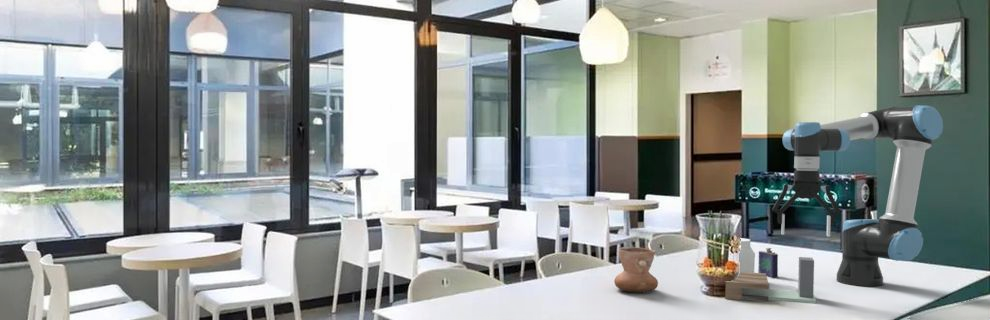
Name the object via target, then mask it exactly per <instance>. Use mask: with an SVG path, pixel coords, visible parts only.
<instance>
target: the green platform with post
mask: <svg viewBox="0 0 990 320" xmlns="http://www.w3.org/2000/svg"><path fill="white" fill-rule="evenodd" d="M814 277H815V260H814V258H813V257H807V256H805V257H803V256H799V257H798V283H797V284H798V285H797V286H798V288H797V290H789V289H788V290H787V289H785V290H784V289H774V288H769V289H756V288H742V294H743V295H756V296H768V301H780V302H791V303H792V302H793V303H804V304H805V303H807V304H817V300H816V297H815V295H814V290H815V289H814V288H815V287H814V283H815V281H814V279H815V278H814Z"/></svg>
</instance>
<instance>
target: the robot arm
mask: <svg viewBox="0 0 990 320" xmlns="http://www.w3.org/2000/svg"><path fill="white" fill-rule="evenodd" d="M943 129H944V123H943V118H942V116H941V115H940V113H939V111H938V110H937V109H936V108H935V107H933V106H930V105H921V104H920V105H919V104H917V105H908V106H907V105H906V106H903V105H902V106H889V107H885V108H880V109H877V110H873V111H869V112H864V113H861V114H859V115H858V117H855V118H854V117H853V118H849V119H843V120H838V121H833V122H828V123H823V124H821V123H820V122H819V121H818V122H816V121H813V122H812V121H805V122H804V121H803V122H801V121H800V122H797V123H795V127H794V128H793V129H791V128H790V129H787V130H786V131H785V132H784V133H783V135H782V145H783V147H784V148H785V149H787V150H788V151H794V158H793V159H794V162H793V163H794V164H793V168H794V169H795V170H794V171H793V184H792V185H791V184H786V183H784V184H783V186H782V191H781V193H780V195H779V197H778V198H777V199H776V202H775V203H774V205H773V206H772V209H771V210H772V212H774V213H776V214H777V223H778V225H781V227H780V229H781V230H780V231H781V232H780V233H781V234H780V235H782V236H783V235H785V217H786V215H785V213H784V212H785V211H786V210H787V209H789V207H790V206H791V205H792V204H793V203H794V202H795V201H796V200H798V198H799V199H803V200H804V199H808V200H812V199H816V201H817V202H818V204H820V205H821V207H822V208H823V209H824V210H825V211H826V212H827V213H828V214H829V215H826V237H828V238H830V237H831V227H834V226H835V218H836V216H838V215H841V214H842V212H841V210H840V207H839V206H838V204H837V202H836V200H835V198H834V196H833V195H832V193H831V186H830V185H829V184H826V185H820V171H819V169H820V160H821V158H820V156H821V152H827V153H828V152H829V153H830V152H834V153H835V152H836V153H837V152H844V151H846V150H847V149H848V148H849V146H850V144H851V141H854V140H858V139H864V140H872V139H886V140H887V139H888V140H892V143H893V144H894V145H895V147H896V151H895V157H894V162H893V167H892V168H893V169H892V174H891V178H890V180H891V181H890V184H889V185H890V186H889V190H888V191H889V192H888V197H887V201H886V208H885V213H884V214H883V215H881V216H879V219H878V218H871V219H870V218H869V219H866V218H865V219H862V218H861V219H847V220H845V221H844V222H843V226H842V227H843V228H842V245H841V247H842V253H841V255H842V258H841V259H842V260H841V262H840V265H839V267H838V270H837V273H836V281H837V282H838V283H842V284H845V285H853V286H861V287H879V286H883V285H884V276H883V273H882V270H881V267H880V264H879V258H882V259H883V258H884V259H887V260H892V261H895V262H896V261H897V262H898V261H901V262H907V261H911V260H914V258H916V257H917V256H918V255H919V254H920V253H921V251H922V248H923V245H924V237H923V233H922V232H921V230H919V229H918V226H919V225H918V222H917V221H916V220H915V218H914V217H915V211H916V205H917V200H918V195H919V188H920V183H921V177H922V170H923V167H924V161H925V160H924V159H925V155H926V150H928V149H930V148H932V143H933V141H934V140H937V139H938V138H939V137H940V136H942V133H943ZM791 189H792V190H793V192H794V194H792V196H791V197H790V198H789V199H788V200H787V201H786V202H785V203H784V204H783V205H782V206H781V204H782V201H783V200H784V198H785V197H786V196H787V193H788V192H789V191H790V190H791ZM821 190H822V192H823V193H825V195H826V197H827V199H828V200H829V202H830V204H831V206H832V208H833V210H834V211H833V210H832V209H831V208H830V207H829V206H828V205H827V203H826V202H825V201H824V200H823V199H822V198H821V196H820V195H819V194H818V193H819V192H820V191H821ZM780 206H781V207H780ZM779 208H780V209H779Z"/></svg>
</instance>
